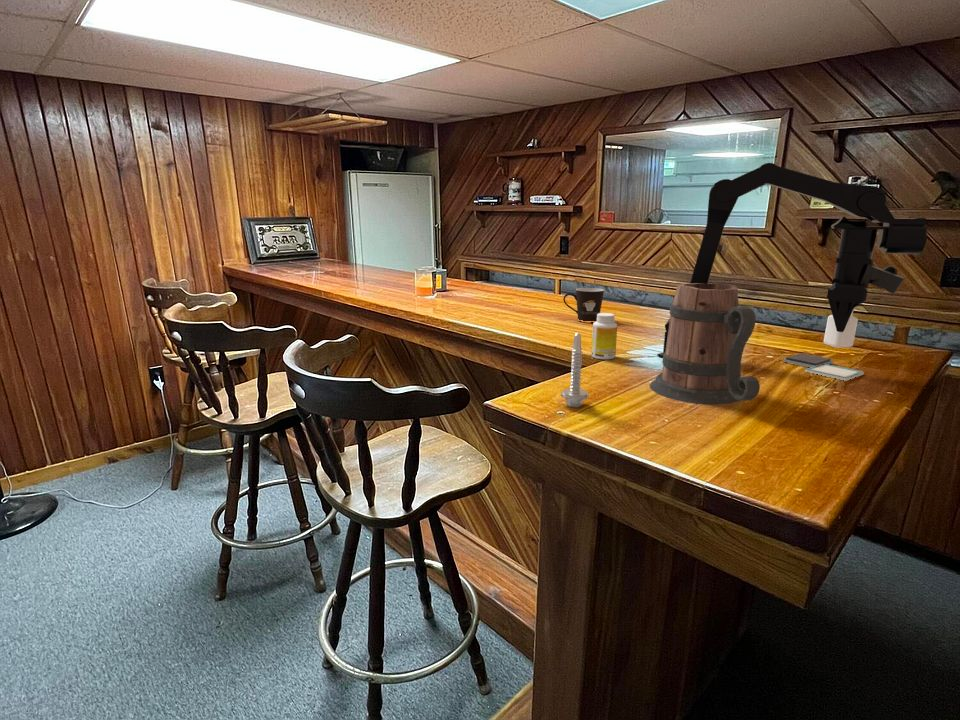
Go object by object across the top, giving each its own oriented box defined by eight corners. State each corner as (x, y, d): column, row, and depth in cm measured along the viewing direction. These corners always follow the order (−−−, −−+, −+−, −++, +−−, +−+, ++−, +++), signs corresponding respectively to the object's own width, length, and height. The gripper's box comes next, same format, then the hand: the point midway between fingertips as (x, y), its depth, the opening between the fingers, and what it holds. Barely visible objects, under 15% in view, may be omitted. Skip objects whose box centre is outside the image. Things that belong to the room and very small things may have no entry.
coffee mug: (606, 320, 169) (607, 289, 167) (596, 324, 162) (598, 292, 160) (571, 316, 175) (573, 286, 173) (561, 321, 168) (562, 289, 166)
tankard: (633, 379, 108) (641, 281, 103) (707, 374, 112) (718, 278, 106) (704, 421, 86) (718, 298, 81) (793, 413, 89) (813, 295, 84)
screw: (580, 399, 96) (593, 408, 92) (555, 401, 95) (567, 411, 91) (583, 329, 93) (597, 334, 88) (558, 330, 92) (571, 336, 87)
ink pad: (815, 369, 115) (816, 364, 115) (782, 362, 121) (783, 357, 120) (832, 363, 120) (833, 358, 119) (800, 357, 125) (800, 352, 125)
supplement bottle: (620, 359, 124) (623, 315, 121) (599, 361, 122) (602, 317, 119) (606, 353, 129) (609, 311, 126) (586, 355, 127) (588, 313, 124)
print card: (846, 381, 107) (846, 377, 107) (804, 371, 113) (804, 368, 113) (863, 374, 111) (863, 371, 111) (821, 366, 118) (822, 363, 118)
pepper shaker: (853, 347, 109) (863, 301, 107) (836, 348, 109) (845, 302, 106) (838, 343, 113) (846, 298, 111) (821, 343, 112) (829, 299, 110)
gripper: (909, 257, 94) (890, 343, 98) (903, 252, 109) (887, 327, 113) (834, 254, 100) (819, 335, 104) (838, 249, 115) (826, 320, 119)
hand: (840, 329), depth 110 cm, fingers closed on pepper shaker, 5 cm apart
